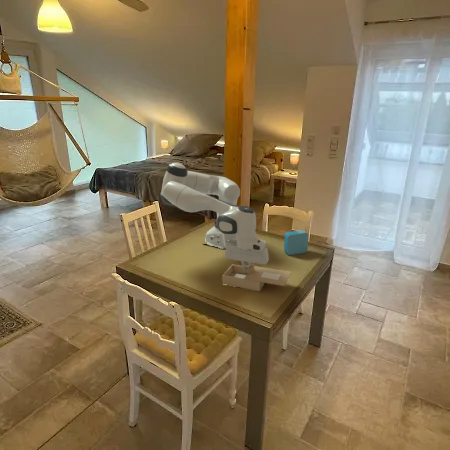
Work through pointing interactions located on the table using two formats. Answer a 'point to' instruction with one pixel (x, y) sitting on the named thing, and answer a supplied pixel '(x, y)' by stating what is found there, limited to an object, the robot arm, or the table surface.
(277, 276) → the lid
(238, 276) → the box
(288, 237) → the data package
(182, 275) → the table surface
